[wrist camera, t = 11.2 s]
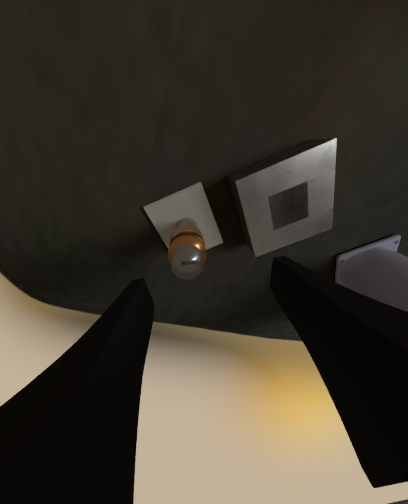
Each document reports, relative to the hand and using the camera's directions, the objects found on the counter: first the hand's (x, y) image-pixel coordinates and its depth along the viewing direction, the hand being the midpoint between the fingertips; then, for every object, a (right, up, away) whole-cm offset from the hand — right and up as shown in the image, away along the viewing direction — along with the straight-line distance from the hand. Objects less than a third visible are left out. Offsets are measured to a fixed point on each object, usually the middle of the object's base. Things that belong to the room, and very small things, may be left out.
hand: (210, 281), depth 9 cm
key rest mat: (-2, +5, +9) cm, 10 cm away
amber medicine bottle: (-2, +4, +8) cm, 9 cm away
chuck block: (+7, +7, +8) cm, 13 cm away
